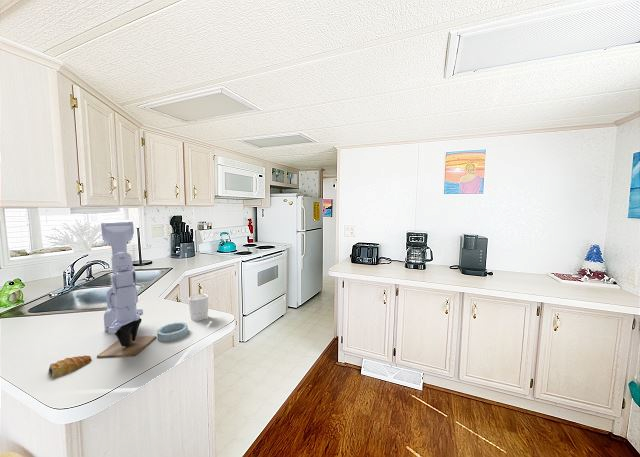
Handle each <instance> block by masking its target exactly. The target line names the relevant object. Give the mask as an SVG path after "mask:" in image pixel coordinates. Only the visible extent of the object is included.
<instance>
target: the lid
mask: <svg viewBox="0 0 640 457" xmlns="http://www.w3.org/2000/svg"><path fill="white" fill-rule="evenodd" d="M156 339H157V335H148V336H147V335H146V336H145V335H143V336H141V335H140V336H136V339H135V341H132V333H130V343H129V346H121V344H120V341H119V339H118V340H116V341H115V342H114V343H112V344H111V345H110V346H109V347H107V348H106V349H104V350H103V351H101V352H100V353H99V354H97V355H96V358H97V359H100V358H101V357H105V358H126V356H129V357H137V356H138V355H139V354H140V353H141V352H143V350H145V349H146V346H147V345H148V346H149V345H150V344H151V343H152V342H153V341H154V340H156ZM148 346H147V347H148ZM137 354H138V355H137ZM136 355H137V356H136Z"/></svg>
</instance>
